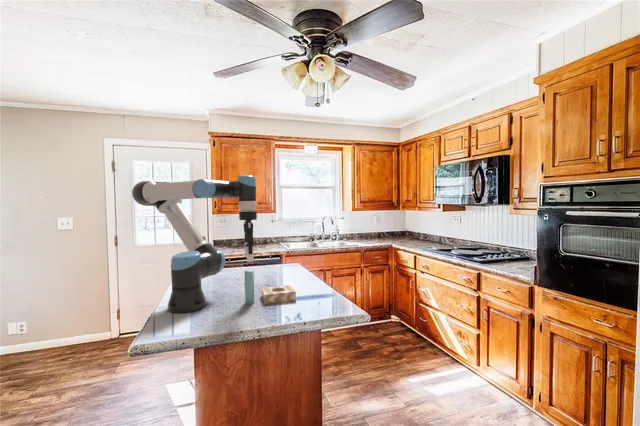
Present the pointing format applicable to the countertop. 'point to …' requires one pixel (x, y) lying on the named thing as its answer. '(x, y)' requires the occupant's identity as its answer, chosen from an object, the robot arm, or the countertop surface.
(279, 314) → the countertop surface
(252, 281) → the dowel
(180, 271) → the robot arm
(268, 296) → the socket block
